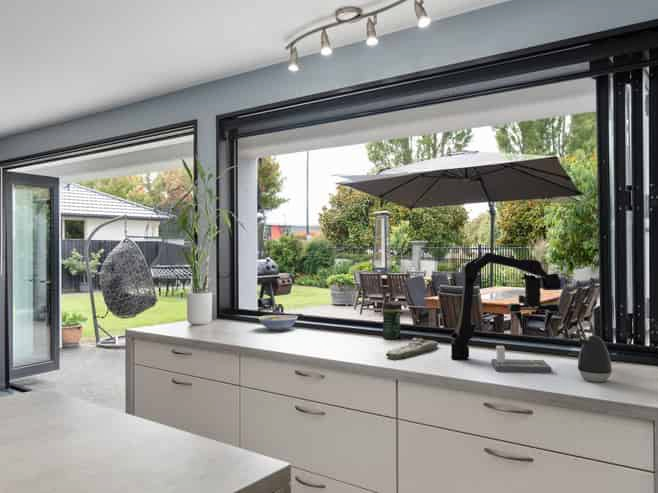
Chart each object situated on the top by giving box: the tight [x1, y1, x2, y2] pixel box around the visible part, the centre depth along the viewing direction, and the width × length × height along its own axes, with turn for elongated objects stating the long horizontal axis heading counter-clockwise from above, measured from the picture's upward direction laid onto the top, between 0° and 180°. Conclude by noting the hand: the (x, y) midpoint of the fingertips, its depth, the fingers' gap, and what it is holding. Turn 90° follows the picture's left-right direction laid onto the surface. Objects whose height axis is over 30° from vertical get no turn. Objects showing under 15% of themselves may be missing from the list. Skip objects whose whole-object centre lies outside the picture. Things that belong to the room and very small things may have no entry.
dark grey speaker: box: [577, 335, 613, 383], centre depth 170 cm, size 10×10×15 cm
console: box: [491, 358, 552, 374], centre depth 188 cm, size 19×12×2 cm, turn 80°
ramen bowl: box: [258, 313, 303, 332], centre depth 289 cm, size 25×23×8 cm
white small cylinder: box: [495, 345, 506, 363], centre depth 190 cm, size 3×4×6 cm, turn 170°
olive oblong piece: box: [385, 337, 439, 361], centre depth 220 cm, size 35×5×10 cm
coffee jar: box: [382, 301, 402, 340], centre depth 256 cm, size 10×8×19 cm
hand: (533, 328), depth 206 cm, fingers open, 9 cm apart
